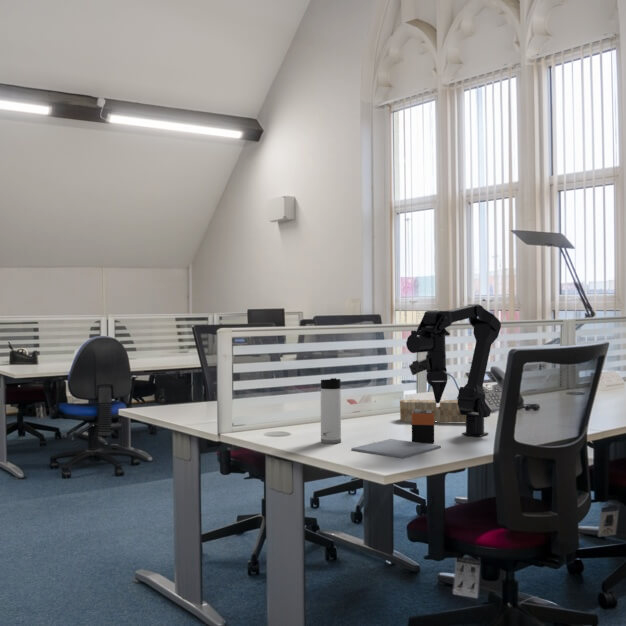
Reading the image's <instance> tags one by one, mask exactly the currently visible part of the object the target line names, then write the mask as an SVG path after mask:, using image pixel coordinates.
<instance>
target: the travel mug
mask: <svg viewBox="0 0 626 626" xmlns="http://www.w3.org/2000/svg"><path fill="white" fill-rule="evenodd" d="M341 381H342V380H341V378H336V377H334V378H333V377H331V378H330V379H320V442H321V444H322V443H323V444H329V445H331V444H333V445H334V444H340V443H341V442H342V391H341V390H342V389H341Z"/></svg>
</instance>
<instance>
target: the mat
mask: <svg viewBox="0 0 626 626" xmlns="http://www.w3.org/2000/svg"><path fill="white" fill-rule="evenodd" d="M440 448H441V449H442V446H441V445H439V444H434V443H418V442H412V441H411V440H410V441H409V440H402V439H395V438H389V439H385V440H381V441H376V442H372V443H368V444H363V445H359V446H355V447H351V451H354V452H361V453H367V454H372V455H373V454H375V455H380V456H387V457H393V458H400V459H405V458H408V457H412V456H416V455H419V454H422V453H427V452H431V451H434V450H437V449H440Z"/></svg>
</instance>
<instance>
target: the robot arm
mask: <svg viewBox="0 0 626 626" xmlns="http://www.w3.org/2000/svg"><path fill="white" fill-rule="evenodd" d="M467 319H468V322H469V324H470V325H471V326H472V327H473V332H472V333H473V337H474V338H475V347H474V349H473V355H472V360H471V364H470V368H469V374H468V378H467V383H466V384H465V385H464V386H460V387H459V389H458V395H457V397H456V399H457V400H458V402H457V403H458V407H459V410H460V414H461V415H466V423H465V431H464V432H461V435H462V434H464V435H465V436H470V435H472V436H473V437H483V436H486V434H487V435H489V432H487V431H485V418H490V417H491V412H492V410H491V408H490V407H489V406H488V404H487V403H486V393H485V390H484V381H485V377H486V371H487V368H488V367H487V366H488V362H489V357H490V353H491V349H492V344H493V343H494V342H495V341H496V340H497V339H498V337H499V334H500V331H501V328H502V324H501V322H500V320H499V318H497V317H496V316H495V315H494V314H493V313H492V312H490V311H488V310H487V309H485V308H484V307H483V306H482V305H481V304H475V303H474V304H467V305H464V306H460V307H456V308H452V309H447V310H427V311H425V312H424V313H423V317H422V319H421V320H420V322H419V324H418V327H417V329H416V330H411V331H410V334H409V336H408V337H407V339H406V341H405V342H406V343H405V345H406V349H407V350H408V351H409V353H411V354H416V353H417V354H419V353H426V355H425V358H423V359H421V360H418V359H415V360H414V361H412V363H410V364H409V365H408V368H409V370H410V373H411V375H412V376H414V375H415V376H416V375H417V374H418V373H421V372H424V371H426V383H427V384H428V385H430V386H431V388H432V392H433V396H434V397H433V398H434V400H435V402H436V404H440V401H442V400H441V399H442V397H443V395H444V391H445V388H446V386H447V384H448V372H447V371H448V370H447V363H446V362H447V354H446V349H447V347H446V336H450V335H451V333H450V331H448V330H447V328H449V327H450V326H451V325H452V324H453V323H455V322H459V321H463V320H467ZM472 436H471V437H472Z"/></svg>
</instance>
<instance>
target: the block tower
mask: <svg viewBox="0 0 626 626" xmlns="http://www.w3.org/2000/svg"><path fill="white" fill-rule="evenodd" d="M457 402H458V399H457V400H456V399H444V400H440V403H439V405H438V406H437V403H436V402H435V399H425V400H424V399H400V400H399V413H400V414H399V415H400V417H399V418H400V422H404V423H412V412H416V411H415V409H420V410H421V411H420V412H426V410H431V412H433V413H434V422H435V421H437V422H466V415H461V414H460V410H459V407H458V403H457Z"/></svg>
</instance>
